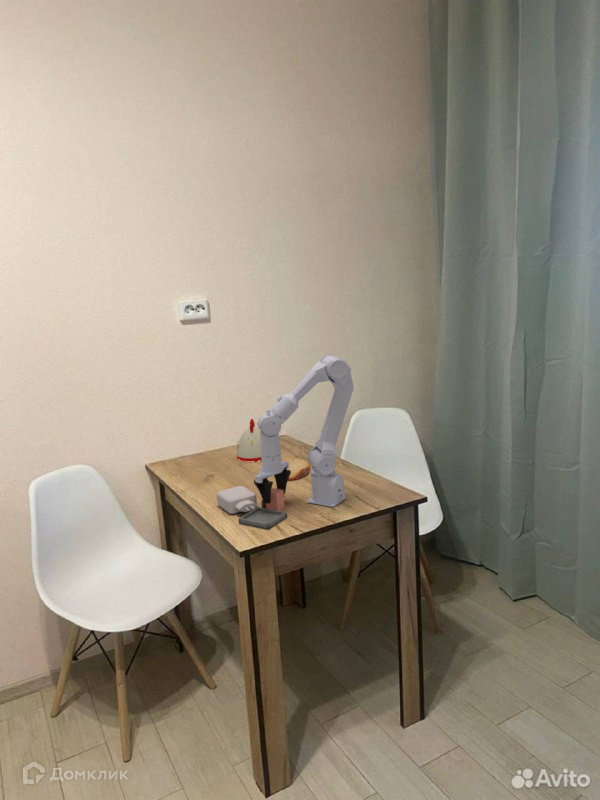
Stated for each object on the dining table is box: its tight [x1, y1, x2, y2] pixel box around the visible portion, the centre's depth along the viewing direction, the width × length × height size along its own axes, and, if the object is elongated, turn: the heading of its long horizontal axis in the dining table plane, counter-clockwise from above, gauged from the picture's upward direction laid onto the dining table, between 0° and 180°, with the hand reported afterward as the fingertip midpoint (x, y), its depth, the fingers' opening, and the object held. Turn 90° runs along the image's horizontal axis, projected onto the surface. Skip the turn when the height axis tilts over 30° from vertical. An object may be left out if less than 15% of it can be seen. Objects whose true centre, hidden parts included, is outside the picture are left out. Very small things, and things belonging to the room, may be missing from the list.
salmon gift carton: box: [266, 487, 286, 511], centre depth 173 cm, size 4×4×6 cm
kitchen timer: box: [236, 418, 262, 461], centre depth 225 cm, size 14×14×15 cm
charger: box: [216, 485, 258, 515], centre depth 174 cm, size 5×9×15 cm
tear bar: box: [260, 499, 266, 508], centre depth 175 cm, size 1×6×3 cm, turn 148°
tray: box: [238, 506, 288, 531], centre depth 165 cm, size 10×9×2 cm
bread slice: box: [281, 456, 311, 482], centre depth 207 cm, size 18×18×4 cm
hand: (274, 498), depth 173 cm, fingers open, 7 cm apart
